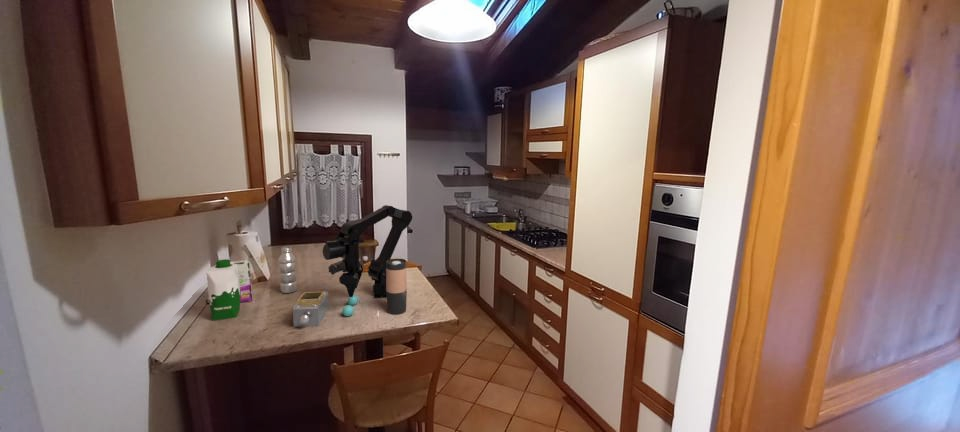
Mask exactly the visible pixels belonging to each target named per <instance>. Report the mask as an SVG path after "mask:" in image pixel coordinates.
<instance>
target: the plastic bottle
mask: <svg viewBox="0 0 960 432" xmlns="http://www.w3.org/2000/svg"><path fill="white" fill-rule="evenodd" d="M280 251H281V254H280V255H279V257H278V265H279V269H280V271H279V272H280V287H279V289H280V292H282V293H283V294H290V293H294V292H296V290H298V283H297V278H296V277H297V276H296V269H295V268H296V257H295V255H294V254H293V253H292V251H293V250H292V246H288V245H287V246H283V247H281V250H280Z"/></svg>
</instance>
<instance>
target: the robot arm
mask: <svg viewBox="0 0 960 432" xmlns="http://www.w3.org/2000/svg"><path fill="white" fill-rule="evenodd" d="M388 217H390V218H391V228H390V231H389V233H388V234H387V238H386V240H385V242H384V244H383V246H382V248H381V251H380V253H379V255H378V257H377V258H376V259H373V258H372V259H371V260H370V264H369V266H368V267H367V273H368V276H369V277H370V279H371V280H372V281H374V283H373V286H372V295H373V298H376V299H377V298H387V294H386V261H387V260H390V259H392V256H393V254H394V252H395V250H396V247H397V245H398V243H399V240H400V238H401V236H402V234H403V231H405V229H407V228H408V227H409V225H410V224H411V222H412V220H413V214H412V211H410V210H406V209H405V210H404V209H399V208H396V207H395V206H392V205H388V204H387V205H386V204H384V205H383V206H382V207H380V208H378V209H376V210H375V211H373V212H371V213H368V214H366V215H365V216H363V217H361V218H360V219H353V220H350V221H347V222H343V224H342V225H341V228H340V231H339V232H338V233H337V235H336V237H335V238H334V240H328V241H325V242H324V245H323V248H322V256H323V258H324V259H325V260H326V261H330V260H334V259H338V258H342V260H339V261H336V262H334V263H332V264H330V265H329V266H328V273H330V275H335V274H337V273H340V272H342V273H341V274H340V277H339V284H341V285H343V286H345V289H346V291H347V294H348V296H349V297H353V295H355V291H356V289H357V288H358V286H359V282H360V280H361V277H362V274H363V272H364V269H365V264H364V262H363V261H361V260H360V259H361V253H360V243H364V242H365V240H364V239H363V238H362V237H361V236H362V235H363V234H365V232H366V231H367V229H369V228H370V227H372V226H374V225H376V224H377V223H379V222H380V221H383V220H384V219H386V218H388ZM349 297H348V298H349Z"/></svg>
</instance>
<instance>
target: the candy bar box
mask: <svg viewBox="0 0 960 432" xmlns="http://www.w3.org/2000/svg"><path fill="white" fill-rule="evenodd" d="M230 264H237V267H238V276H239V286H240V299H241V300H240V303H246V302H252V301H253V297H254V296H253V294H254V293H253V286H252V285H253V284H252V275H251V274H252V273H251V265H250V264H251V263H250V259H239V260H230ZM214 266H216V263H215V264H214Z"/></svg>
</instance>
